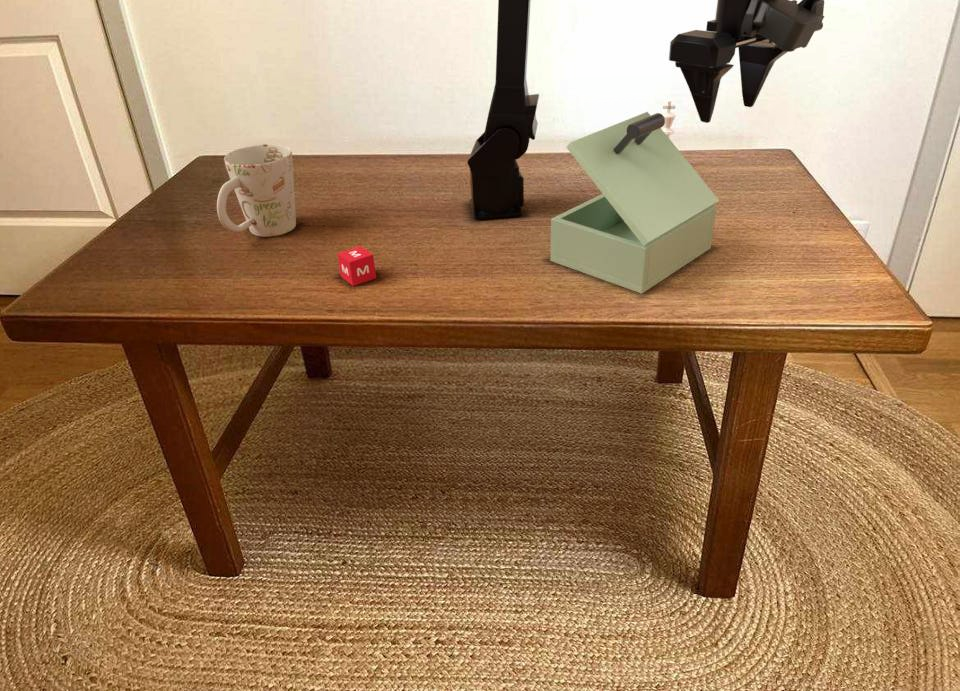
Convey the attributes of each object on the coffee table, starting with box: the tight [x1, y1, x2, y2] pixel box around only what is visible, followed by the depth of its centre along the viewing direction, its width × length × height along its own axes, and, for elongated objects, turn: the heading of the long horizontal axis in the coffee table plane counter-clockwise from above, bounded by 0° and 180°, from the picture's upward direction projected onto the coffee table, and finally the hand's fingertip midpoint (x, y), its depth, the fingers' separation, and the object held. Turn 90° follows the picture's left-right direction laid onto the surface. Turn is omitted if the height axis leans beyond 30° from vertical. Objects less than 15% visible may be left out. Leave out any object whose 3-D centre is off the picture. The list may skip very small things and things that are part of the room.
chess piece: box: [661, 100, 676, 140], centre depth 107 cm, size 5×5×10 cm
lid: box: [565, 111, 720, 246], centre depth 78 cm, size 13×15×5 cm
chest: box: [549, 193, 717, 295], centre depth 84 cm, size 13×15×5 cm
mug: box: [216, 143, 297, 238], centre depth 92 cm, size 8×13×10 cm, turn 155°
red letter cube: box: [337, 245, 377, 287], centre depth 83 cm, size 3×3×3 cm
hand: (727, 114), depth 88 cm, fingers open, 9 cm apart
